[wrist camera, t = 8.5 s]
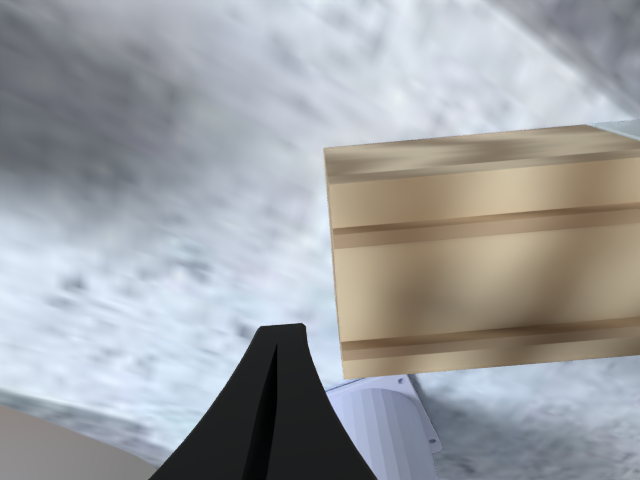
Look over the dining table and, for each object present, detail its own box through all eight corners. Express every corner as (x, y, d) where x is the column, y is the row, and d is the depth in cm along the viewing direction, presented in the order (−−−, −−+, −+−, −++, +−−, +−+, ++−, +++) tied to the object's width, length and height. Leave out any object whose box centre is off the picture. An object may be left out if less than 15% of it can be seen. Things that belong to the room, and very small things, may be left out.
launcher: (336, 308, 24) (344, 389, 18) (323, 147, 19) (329, 190, 14) (628, 284, 24) (726, 357, 18) (686, 115, 19) (840, 145, 14)
